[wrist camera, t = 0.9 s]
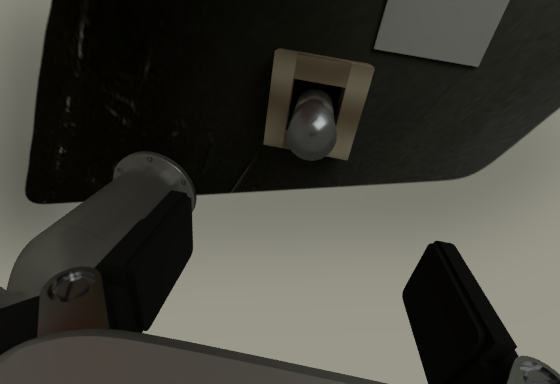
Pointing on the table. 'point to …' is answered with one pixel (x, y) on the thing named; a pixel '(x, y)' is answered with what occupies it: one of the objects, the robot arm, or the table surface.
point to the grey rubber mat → (440, 28)
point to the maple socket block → (322, 71)
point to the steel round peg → (312, 124)
